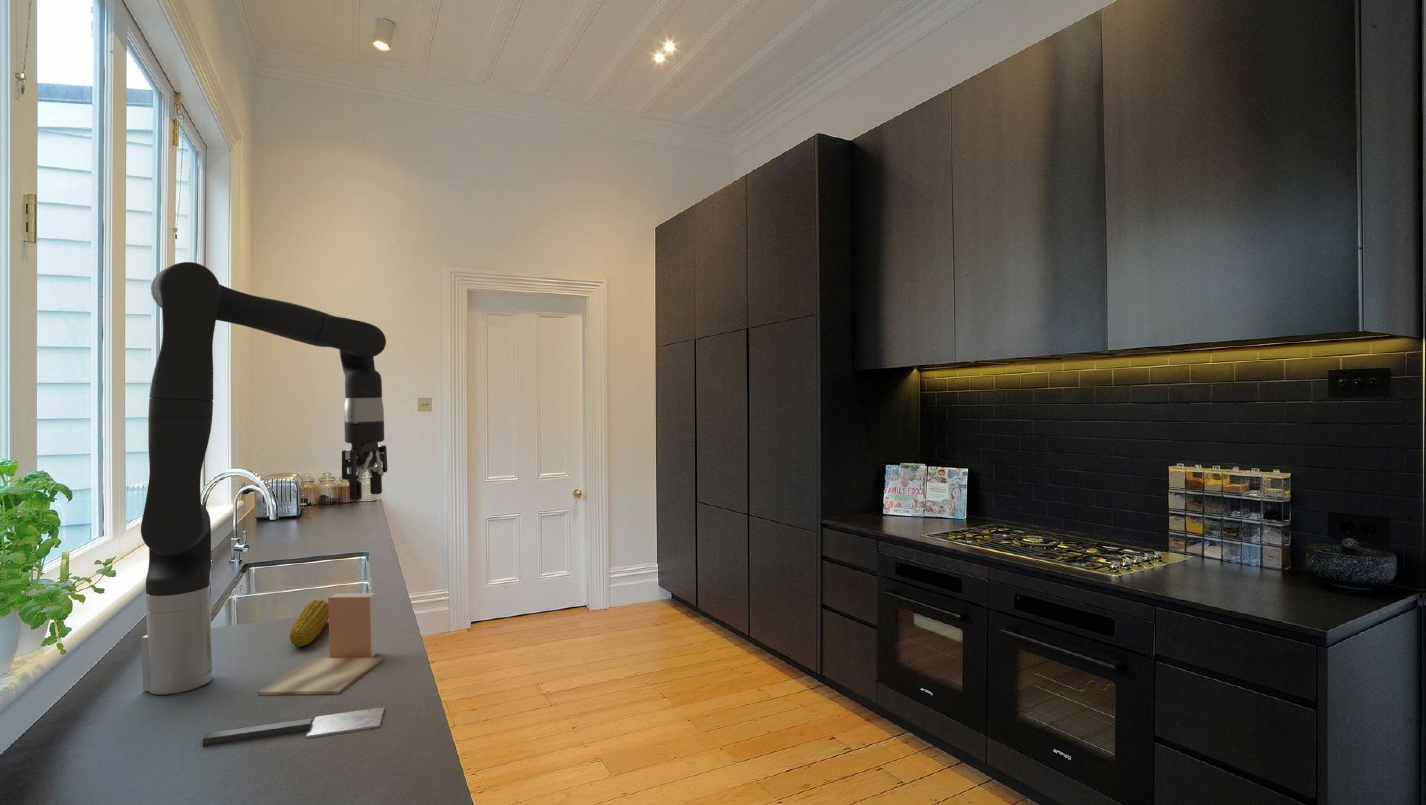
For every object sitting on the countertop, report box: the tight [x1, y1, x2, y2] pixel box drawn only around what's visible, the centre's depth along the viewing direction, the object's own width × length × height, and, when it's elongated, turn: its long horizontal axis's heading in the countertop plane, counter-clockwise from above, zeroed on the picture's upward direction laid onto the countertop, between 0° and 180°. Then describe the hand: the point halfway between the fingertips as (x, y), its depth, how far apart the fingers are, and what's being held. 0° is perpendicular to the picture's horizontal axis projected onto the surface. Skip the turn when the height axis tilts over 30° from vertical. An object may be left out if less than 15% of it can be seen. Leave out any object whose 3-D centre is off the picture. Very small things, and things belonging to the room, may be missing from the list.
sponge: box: [327, 592, 379, 658], centre depth 144 cm, size 8×3×12 cm, turn 88°
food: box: [289, 599, 329, 648], centre depth 157 cm, size 21×6×6 cm, turn 20°
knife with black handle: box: [202, 706, 385, 748], centre depth 112 cm, size 24×7×1 cm, turn 108°
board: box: [257, 657, 384, 696], centre depth 133 cm, size 14×16×1 cm
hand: (366, 496), depth 153 cm, fingers open, 8 cm apart
